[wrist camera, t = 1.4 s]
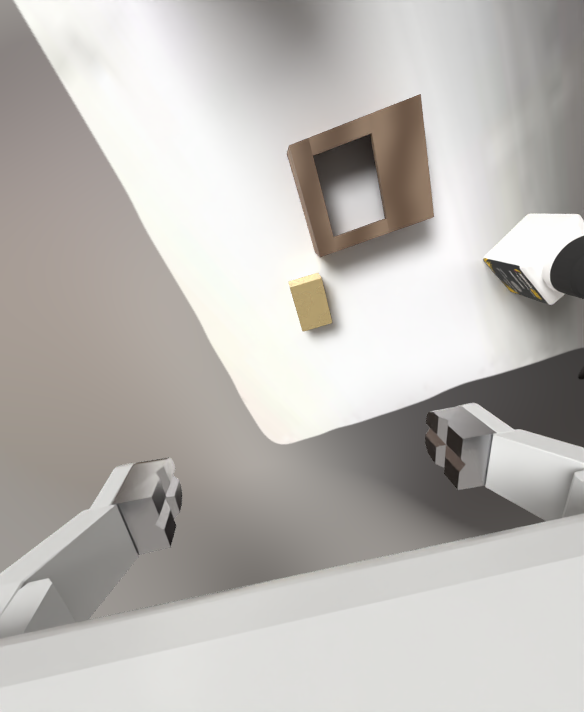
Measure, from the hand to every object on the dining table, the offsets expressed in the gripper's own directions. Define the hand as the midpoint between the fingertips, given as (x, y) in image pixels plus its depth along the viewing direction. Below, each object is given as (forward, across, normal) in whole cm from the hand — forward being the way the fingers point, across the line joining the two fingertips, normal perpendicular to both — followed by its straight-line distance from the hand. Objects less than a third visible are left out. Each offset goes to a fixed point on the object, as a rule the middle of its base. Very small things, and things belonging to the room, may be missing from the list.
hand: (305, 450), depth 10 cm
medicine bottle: (+30, -34, -1) cm, 45 cm away
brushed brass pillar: (+33, -6, +2) cm, 33 cm away
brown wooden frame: (+31, -12, -11) cm, 35 cm away
